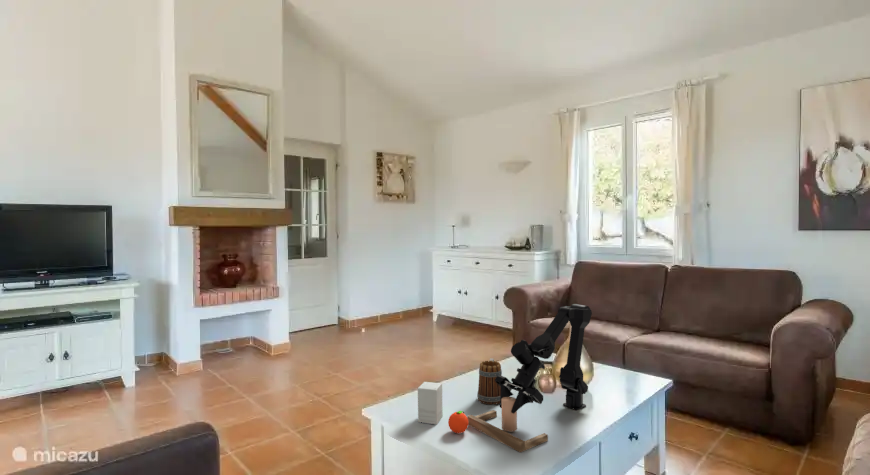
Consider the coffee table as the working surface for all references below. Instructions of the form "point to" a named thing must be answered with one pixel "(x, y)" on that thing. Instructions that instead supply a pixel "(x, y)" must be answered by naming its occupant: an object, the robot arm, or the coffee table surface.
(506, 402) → the tan cylinder
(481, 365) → the mug
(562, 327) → the robot arm
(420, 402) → the supplement box
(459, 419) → the clementine
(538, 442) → the bay
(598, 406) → the coffee table surface
